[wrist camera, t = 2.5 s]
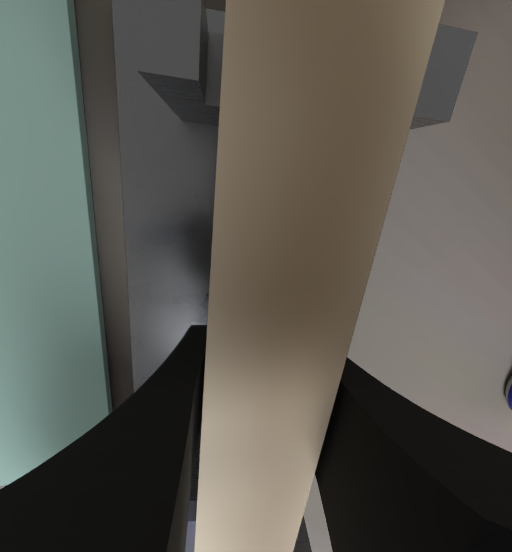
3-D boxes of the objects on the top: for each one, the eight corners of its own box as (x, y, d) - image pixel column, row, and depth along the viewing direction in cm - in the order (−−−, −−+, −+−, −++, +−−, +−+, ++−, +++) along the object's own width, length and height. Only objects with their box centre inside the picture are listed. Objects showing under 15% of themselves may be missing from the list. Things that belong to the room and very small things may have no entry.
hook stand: (142, 454, 17) (97, 618, 11) (122, 6, 9) (-71, -299, 3) (304, 449, 18) (344, 591, 12) (399, 60, 11) (631, -79, 5)
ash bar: (196, 538, 13) (188, 642, 10) (231, -44, 6) (239, -246, 3) (260, 533, 13) (270, 631, 10) (368, -13, 6) (490, -163, 3)
